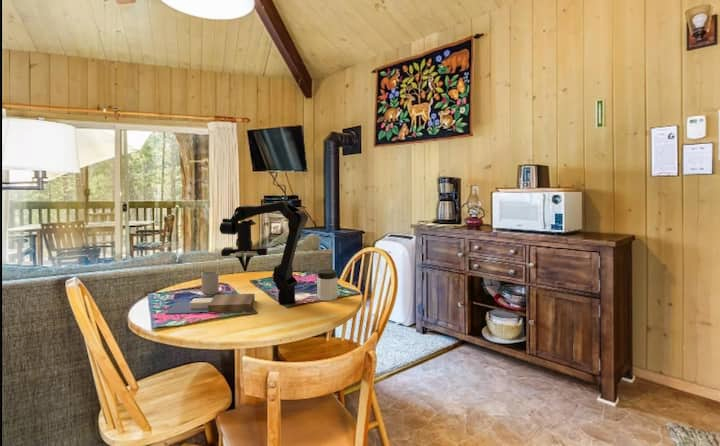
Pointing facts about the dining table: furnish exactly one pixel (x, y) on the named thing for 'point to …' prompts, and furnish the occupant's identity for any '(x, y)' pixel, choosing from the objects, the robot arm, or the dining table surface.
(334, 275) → the jar
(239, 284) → the dining table surface
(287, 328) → the dining table surface
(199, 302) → the beige flat block
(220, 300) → the cutting board
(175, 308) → the felt mat
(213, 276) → the cup
